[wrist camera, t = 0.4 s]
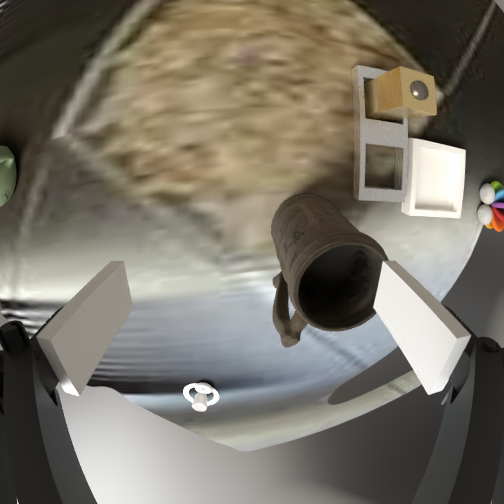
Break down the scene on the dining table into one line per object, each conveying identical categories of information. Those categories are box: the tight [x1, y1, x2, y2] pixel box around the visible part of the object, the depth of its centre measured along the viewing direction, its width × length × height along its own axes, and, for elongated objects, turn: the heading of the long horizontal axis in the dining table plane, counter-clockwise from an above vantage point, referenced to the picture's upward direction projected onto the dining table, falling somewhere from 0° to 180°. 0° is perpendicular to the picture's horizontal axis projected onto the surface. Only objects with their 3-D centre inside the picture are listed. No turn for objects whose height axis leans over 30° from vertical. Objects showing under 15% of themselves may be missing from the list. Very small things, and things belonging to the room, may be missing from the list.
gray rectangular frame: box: [351, 65, 408, 202], centre depth 34 cm, size 20×8×2 cm, turn 1°
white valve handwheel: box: [183, 382, 219, 411], centre depth 52 cm, size 9×8×4 cm
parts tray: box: [401, 138, 466, 218], centre depth 36 cm, size 12×12×2 cm
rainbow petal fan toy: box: [477, 181, 504, 232], centre depth 35 cm, size 8×10×7 cm
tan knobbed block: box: [364, 66, 437, 121], centre depth 27 cm, size 5×5×12 cm
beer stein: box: [271, 194, 389, 347], centre depth 32 cm, size 15×10×20 cm
